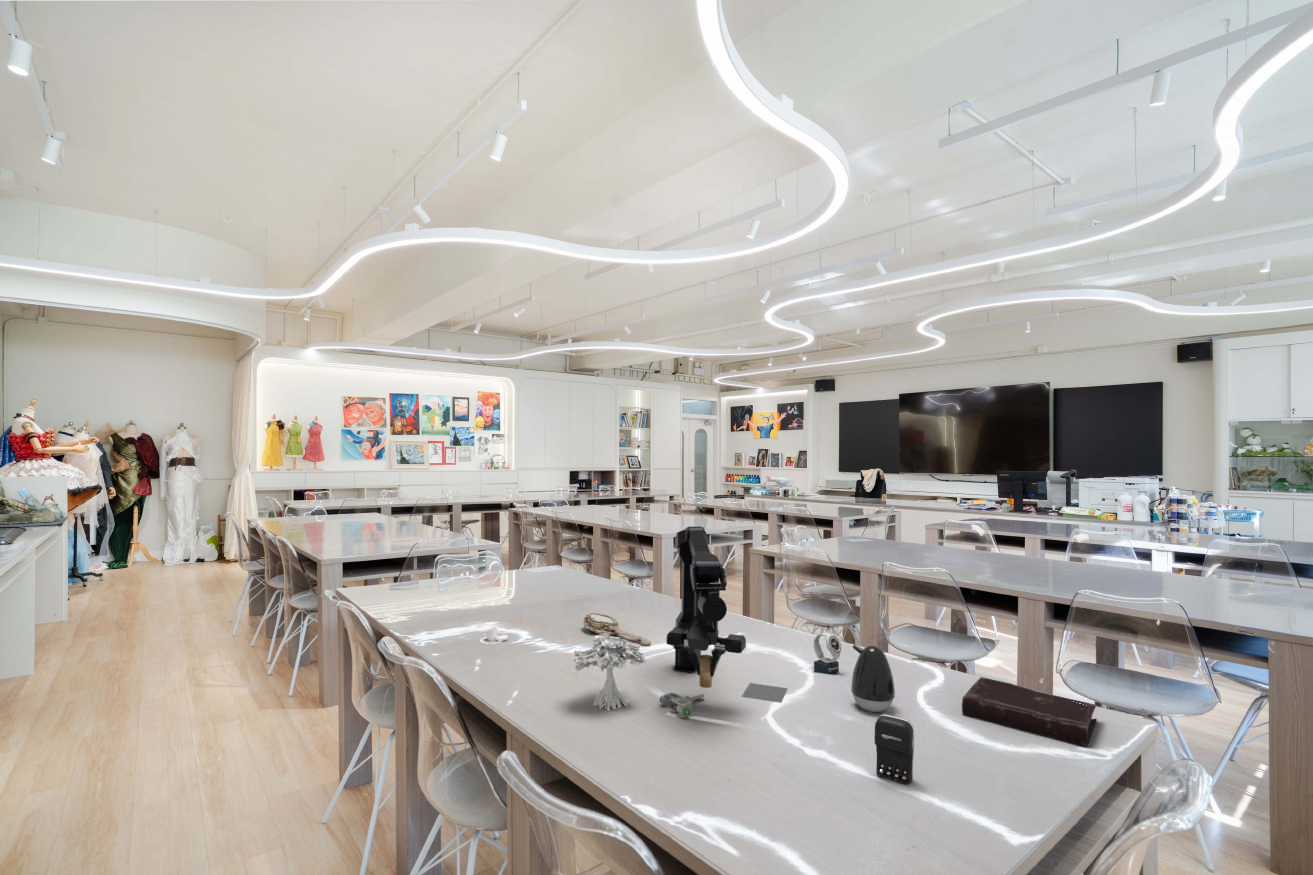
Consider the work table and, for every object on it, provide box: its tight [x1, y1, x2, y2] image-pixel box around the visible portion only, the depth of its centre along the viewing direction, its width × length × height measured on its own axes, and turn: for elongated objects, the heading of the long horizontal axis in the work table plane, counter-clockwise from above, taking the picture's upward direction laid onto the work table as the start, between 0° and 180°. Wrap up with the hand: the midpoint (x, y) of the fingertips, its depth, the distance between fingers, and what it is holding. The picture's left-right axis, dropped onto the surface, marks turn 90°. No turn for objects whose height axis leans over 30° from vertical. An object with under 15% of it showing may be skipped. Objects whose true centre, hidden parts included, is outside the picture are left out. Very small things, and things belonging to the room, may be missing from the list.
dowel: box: [698, 654, 713, 689], centre depth 153 cm, size 3×3×7 cm
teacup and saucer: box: [479, 627, 509, 645], centre depth 206 cm, size 9×8×4 cm
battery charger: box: [874, 714, 915, 785], centre depth 121 cm, size 7×4×11 cm, turn 56°
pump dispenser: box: [850, 644, 896, 713], centre depth 155 cm, size 10×10×15 cm
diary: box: [961, 676, 1098, 748], centre depth 150 cm, size 19×25×5 cm
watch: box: [812, 632, 842, 676], centre depth 179 cm, size 6×8×11 cm
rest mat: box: [741, 682, 789, 704], centre depth 161 cm, size 10×10×1 cm
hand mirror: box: [582, 612, 652, 647], centre depth 211 cm, size 11×6×30 cm
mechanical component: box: [659, 692, 706, 719], centre depth 153 cm, size 3×10×10 cm
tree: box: [572, 633, 647, 712], centre depth 156 cm, size 18×16×17 cm
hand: (705, 675), depth 153 cm, fingers closed on dowel, 3 cm apart
